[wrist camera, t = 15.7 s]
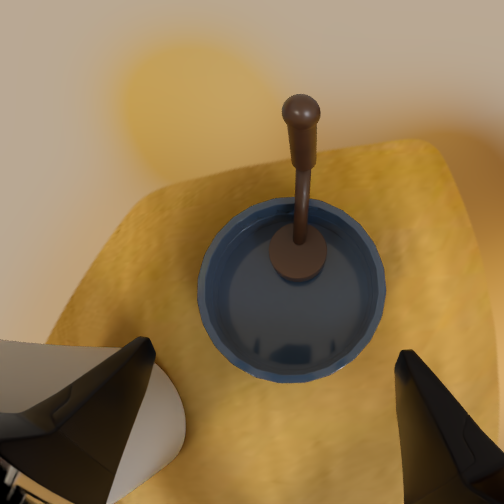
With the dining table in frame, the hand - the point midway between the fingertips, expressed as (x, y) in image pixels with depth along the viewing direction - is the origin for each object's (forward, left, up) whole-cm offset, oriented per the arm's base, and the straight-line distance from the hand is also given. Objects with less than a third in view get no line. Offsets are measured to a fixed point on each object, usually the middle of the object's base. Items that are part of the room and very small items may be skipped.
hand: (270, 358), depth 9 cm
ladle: (+9, +1, -12) cm, 15 cm away
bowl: (+4, +1, -14) cm, 14 cm away
